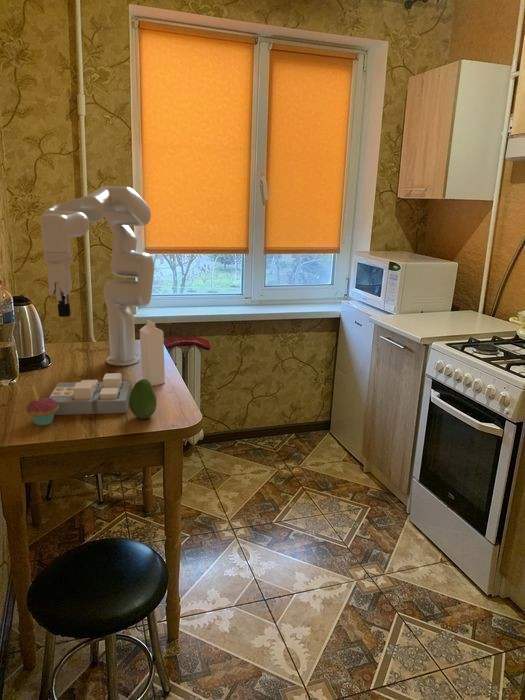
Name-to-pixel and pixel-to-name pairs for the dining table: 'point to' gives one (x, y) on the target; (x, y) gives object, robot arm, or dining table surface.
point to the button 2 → (93, 383)
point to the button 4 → (109, 393)
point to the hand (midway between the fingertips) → (64, 315)
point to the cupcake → (42, 409)
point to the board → (94, 406)
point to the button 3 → (112, 380)
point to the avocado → (142, 399)
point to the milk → (152, 354)
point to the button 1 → (83, 391)
